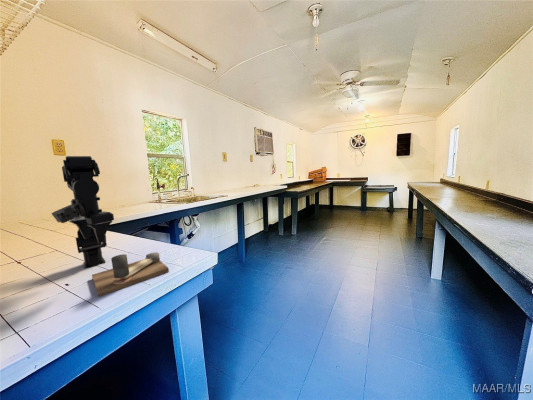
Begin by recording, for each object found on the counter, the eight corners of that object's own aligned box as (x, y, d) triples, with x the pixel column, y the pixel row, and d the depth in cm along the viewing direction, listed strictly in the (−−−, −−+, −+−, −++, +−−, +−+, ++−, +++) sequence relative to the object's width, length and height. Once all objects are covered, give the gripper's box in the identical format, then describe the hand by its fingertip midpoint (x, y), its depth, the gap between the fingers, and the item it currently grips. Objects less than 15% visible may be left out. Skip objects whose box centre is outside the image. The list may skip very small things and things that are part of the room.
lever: (152, 258, 85) (149, 239, 84) (162, 258, 84) (159, 239, 83) (111, 282, 67) (107, 259, 66) (123, 283, 66) (119, 260, 65)
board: (92, 278, 74) (91, 274, 74) (155, 259, 88) (154, 255, 87) (98, 296, 63) (97, 291, 63) (168, 271, 77) (168, 267, 76)
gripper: (40, 197, 68) (50, 245, 71) (66, 200, 59) (77, 254, 62) (83, 193, 78) (90, 234, 80) (111, 194, 69) (118, 241, 71)
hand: (93, 240), depth 73 cm, fingers open, 9 cm apart
